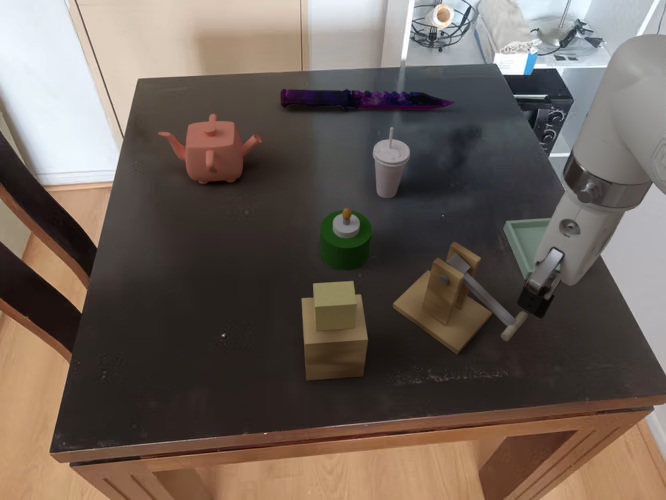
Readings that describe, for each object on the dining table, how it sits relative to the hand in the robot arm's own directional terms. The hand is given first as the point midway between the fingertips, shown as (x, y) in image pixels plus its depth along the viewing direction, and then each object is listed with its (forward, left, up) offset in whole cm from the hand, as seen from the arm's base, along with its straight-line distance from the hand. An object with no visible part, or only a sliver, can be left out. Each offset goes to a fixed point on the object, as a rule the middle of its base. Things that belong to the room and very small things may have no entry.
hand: (550, 285), depth 63 cm
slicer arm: (+8, 0, -10) cm, 13 cm away
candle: (+31, +1, -19) cm, 36 cm away
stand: (+19, +17, -18) cm, 31 cm away
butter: (+19, +17, -8) cm, 27 cm away
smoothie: (+35, -15, -19) cm, 42 cm away
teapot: (+62, +3, -19) cm, 65 cm away
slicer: (+12, 0, -18) cm, 22 cm away
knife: (+54, -32, -19) cm, 65 cm away
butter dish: (+7, -22, -18) cm, 29 cm away
